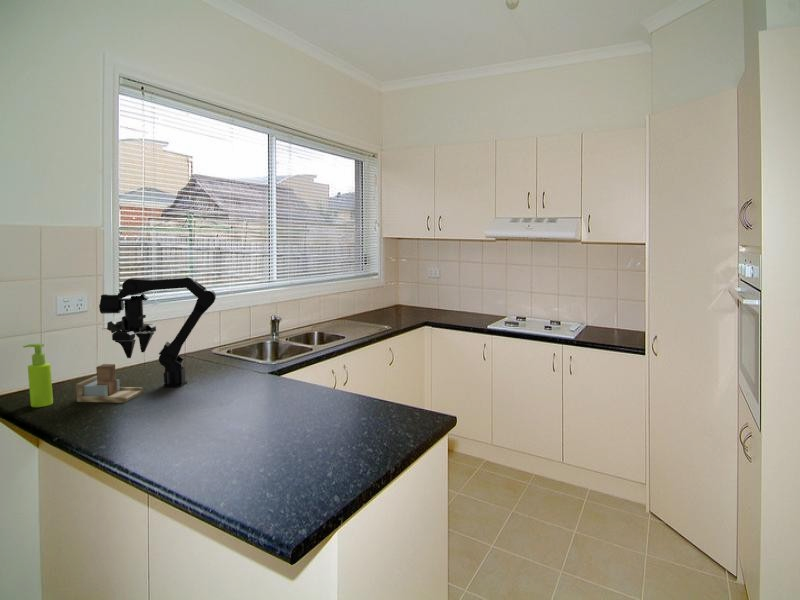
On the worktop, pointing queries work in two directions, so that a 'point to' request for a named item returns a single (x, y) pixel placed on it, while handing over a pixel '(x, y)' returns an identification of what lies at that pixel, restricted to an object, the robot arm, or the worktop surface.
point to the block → (98, 389)
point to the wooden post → (107, 377)
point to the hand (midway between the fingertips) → (136, 355)
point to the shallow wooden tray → (119, 396)
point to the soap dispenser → (39, 379)
